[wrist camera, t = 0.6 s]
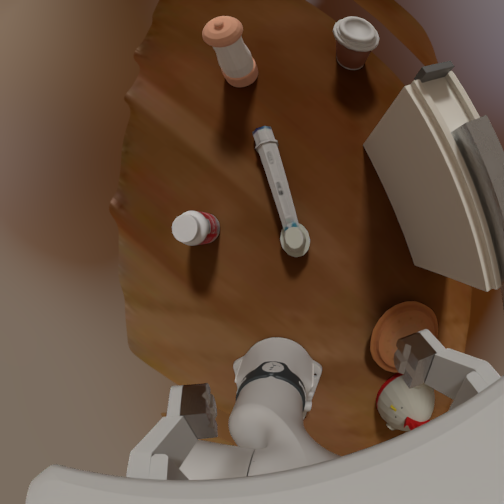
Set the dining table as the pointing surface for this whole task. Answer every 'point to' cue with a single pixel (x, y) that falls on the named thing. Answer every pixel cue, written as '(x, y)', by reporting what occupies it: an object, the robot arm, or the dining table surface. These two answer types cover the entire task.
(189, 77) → the dining table surface
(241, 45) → the pepper shaker
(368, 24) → the coffee cup
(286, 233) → the toothbrush head
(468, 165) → the brushed metal bar
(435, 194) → the stand
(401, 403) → the kitchen timer
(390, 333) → the pie
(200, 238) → the pill bottle
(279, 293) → the dining table surface
